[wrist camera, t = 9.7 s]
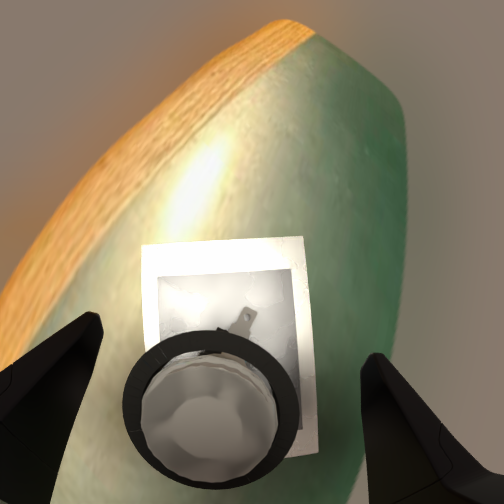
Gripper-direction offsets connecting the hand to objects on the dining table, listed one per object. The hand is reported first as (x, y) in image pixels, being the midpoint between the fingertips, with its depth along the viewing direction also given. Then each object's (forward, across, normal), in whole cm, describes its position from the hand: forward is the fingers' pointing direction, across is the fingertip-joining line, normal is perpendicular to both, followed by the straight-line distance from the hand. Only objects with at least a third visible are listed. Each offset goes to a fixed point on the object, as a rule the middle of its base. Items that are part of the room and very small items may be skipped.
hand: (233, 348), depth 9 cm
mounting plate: (+6, 0, +8) cm, 10 cm away
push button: (+5, 0, +7) cm, 9 cm away
